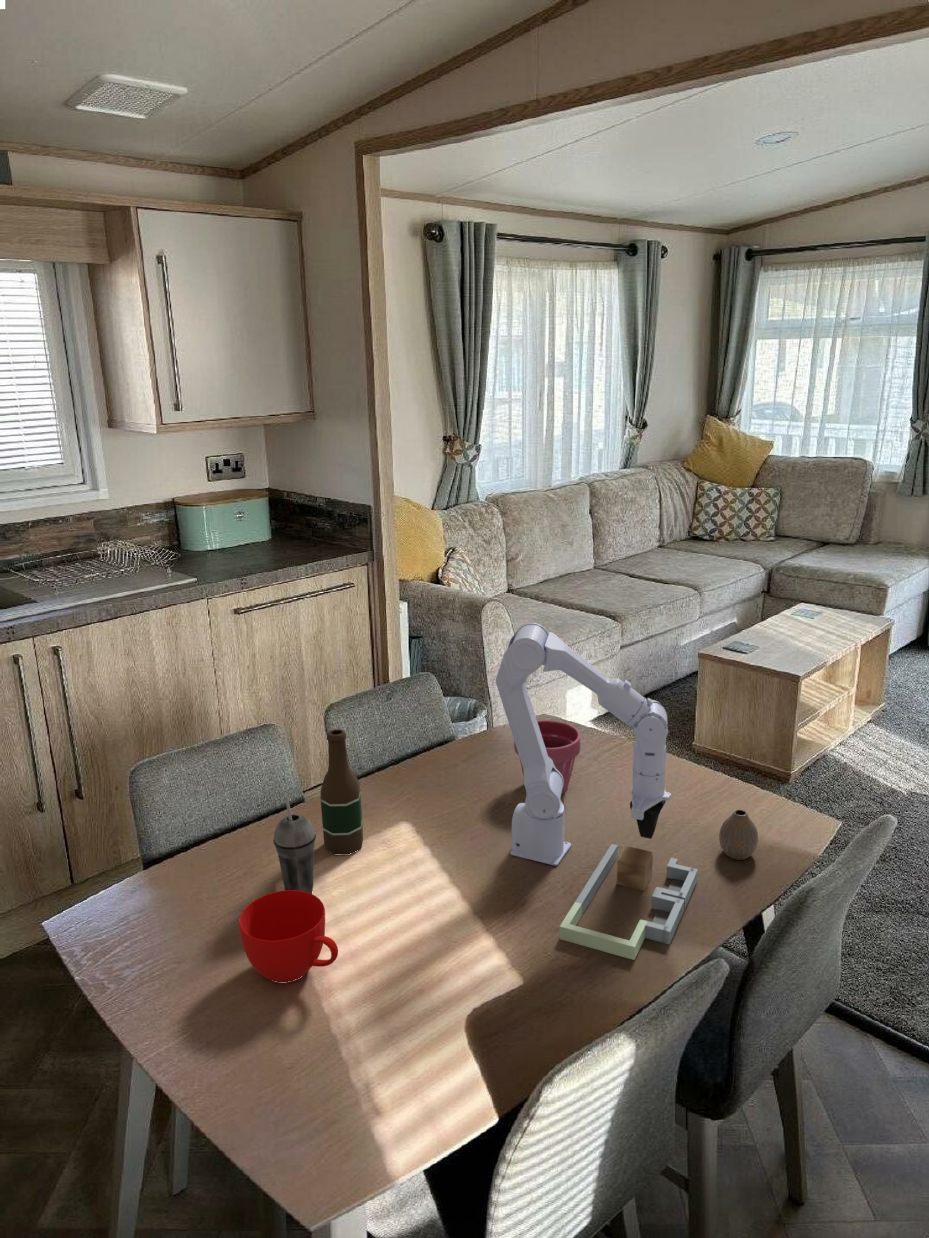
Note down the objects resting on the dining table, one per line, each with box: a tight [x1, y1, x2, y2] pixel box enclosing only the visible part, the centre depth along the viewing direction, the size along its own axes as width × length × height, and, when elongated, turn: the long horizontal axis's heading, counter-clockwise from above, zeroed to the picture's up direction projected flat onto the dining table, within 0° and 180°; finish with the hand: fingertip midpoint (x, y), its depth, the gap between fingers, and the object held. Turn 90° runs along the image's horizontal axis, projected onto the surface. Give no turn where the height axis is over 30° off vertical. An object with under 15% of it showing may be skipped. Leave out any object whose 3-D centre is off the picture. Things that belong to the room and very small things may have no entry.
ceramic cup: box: [238, 889, 339, 982], centre depth 138 cm, size 13×17×10 cm
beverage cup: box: [272, 796, 317, 894], centre depth 156 cm, size 7×7×20 cm
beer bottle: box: [320, 728, 364, 855], centre depth 171 cm, size 8×8×24 cm
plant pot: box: [513, 719, 582, 795], centre depth 194 cm, size 14×14×13 cm
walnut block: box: [616, 845, 654, 891], centre depth 161 cm, size 5×5×5 cm
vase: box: [718, 808, 759, 861], centre depth 167 cm, size 7×7×9 cm
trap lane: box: [559, 843, 699, 961], centre depth 154 cm, size 16×27×2 cm, turn 153°
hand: (646, 836), depth 166 cm, fingers closed
